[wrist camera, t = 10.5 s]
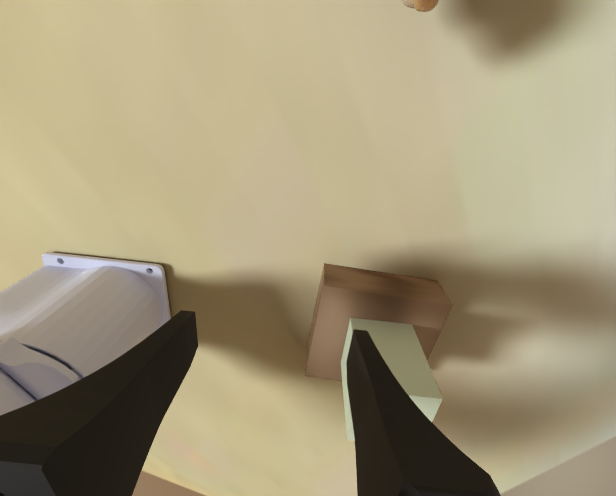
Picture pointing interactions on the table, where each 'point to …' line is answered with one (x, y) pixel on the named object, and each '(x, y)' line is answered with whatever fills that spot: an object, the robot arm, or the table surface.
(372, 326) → the sage block
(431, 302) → the walnut block
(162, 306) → the robot arm
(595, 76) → the table surface
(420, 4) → the lion figurine
